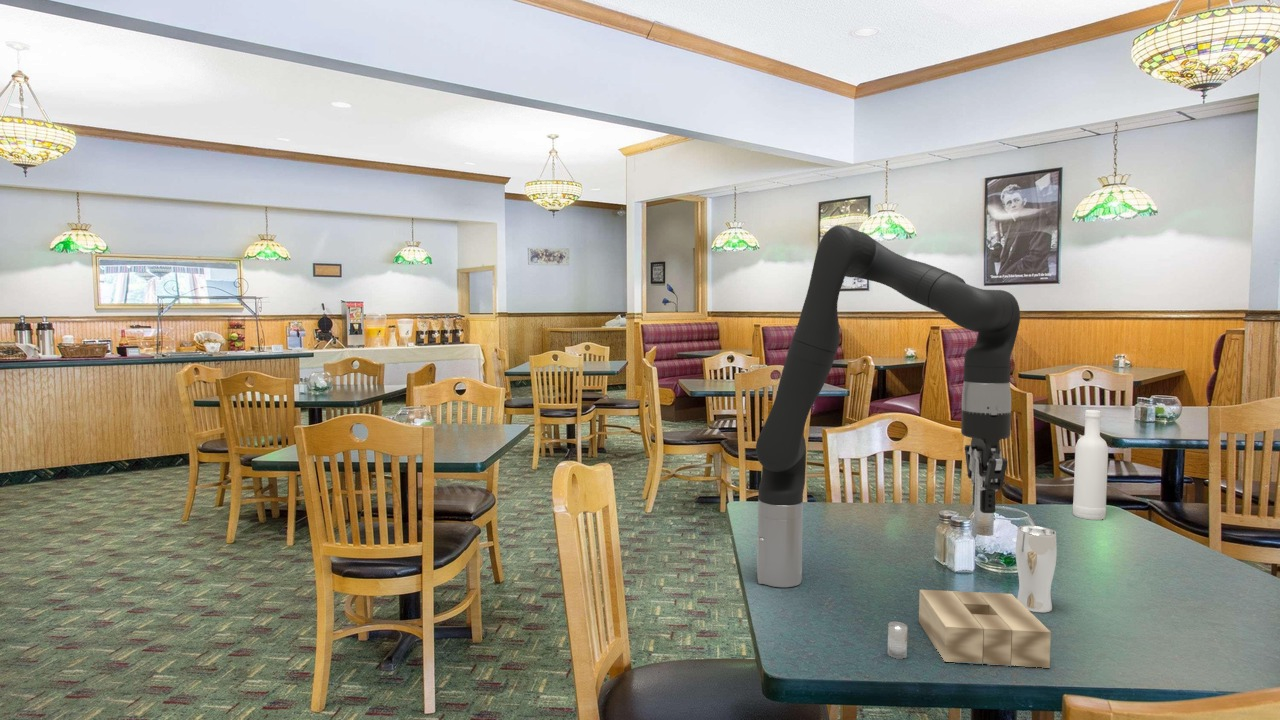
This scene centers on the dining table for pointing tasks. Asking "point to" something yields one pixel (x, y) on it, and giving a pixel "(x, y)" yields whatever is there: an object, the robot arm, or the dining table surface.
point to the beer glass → (1036, 566)
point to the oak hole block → (983, 628)
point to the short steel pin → (897, 640)
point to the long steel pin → (981, 520)
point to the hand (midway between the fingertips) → (983, 509)
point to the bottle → (1090, 471)
